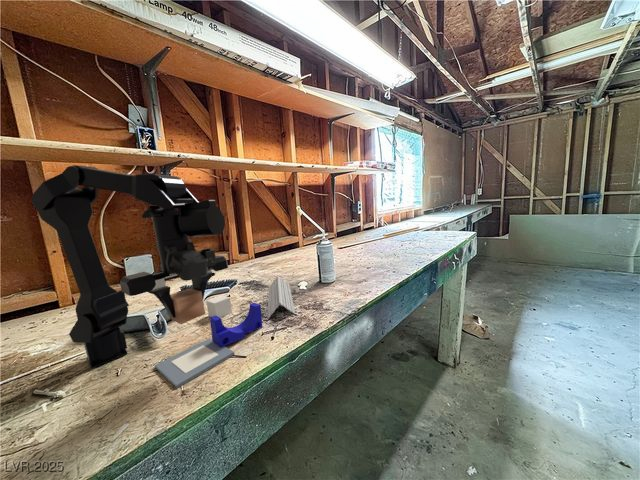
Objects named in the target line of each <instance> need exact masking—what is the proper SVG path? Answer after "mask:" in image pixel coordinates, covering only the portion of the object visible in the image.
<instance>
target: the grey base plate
mask: <svg viewBox="0 0 640 480" xmlns="http://www.w3.org/2000/svg"><path fill="white" fill-rule="evenodd" d="M234 355H235V351H233V350H231V349H230V348H229V347H226V346H223V347H221V348H220V347H219V346H218V345H216V344H215V343H214V342H213V341H212V338H207V339H205V340H203V341H201V342H199V343H196V344H194V345H193V346H190V347H189V348H187V349H185V350H183V351H181V352H178V353H177V354H175V355H173V356H171V357H168V358H167V359H164V360H162V361H160V362H159V363H156V364H155V365H154V368H155V370H157V371H158V372H159V373H160V374H161V375H162V376H163V377H164V378H165V379H166V380H168V382H169V383H170V384H171V385H173V386H174V387H175V388H176V389H178V388H181V387H182V386H184V385H185V384H187V383H189V382H190V381H192V380H194V379H195V378H197V377H198V376H200V375H203V374H204V373H205V372H207V371H209V370H210V369H212V368H214V367H215V366H217V365H219V364H221V363H222V362H224V361H226V360H227V359H229V358H230V357H233V356H234Z"/></svg>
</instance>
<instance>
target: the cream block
mask: <svg viewBox="0 0 640 480" xmlns="http://www.w3.org/2000/svg"><path fill="white" fill-rule="evenodd" d="M205 301H206V308H207V313H208V316H209V317H213V316H218V317H220V318H221V319H222V318H223V317H225V316H227V315H230V314H232V313H233V308H232V303H231V297H229V296H226V295H223V294H219V295H218V296H214V297H211V298H209V299H207V300H205Z"/></svg>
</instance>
